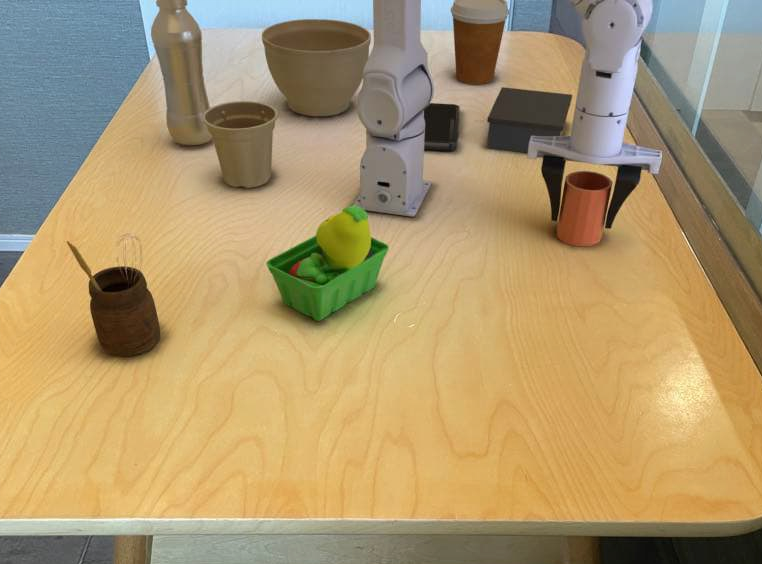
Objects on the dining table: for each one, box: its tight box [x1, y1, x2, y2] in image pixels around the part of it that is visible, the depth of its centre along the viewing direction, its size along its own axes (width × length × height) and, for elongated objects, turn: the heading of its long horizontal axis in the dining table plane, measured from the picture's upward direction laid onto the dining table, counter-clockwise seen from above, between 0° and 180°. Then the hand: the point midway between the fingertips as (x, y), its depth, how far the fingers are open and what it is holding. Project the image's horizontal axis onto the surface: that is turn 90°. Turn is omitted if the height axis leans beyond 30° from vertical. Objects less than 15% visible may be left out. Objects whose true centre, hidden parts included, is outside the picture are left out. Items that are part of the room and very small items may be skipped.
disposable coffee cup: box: [450, 0, 510, 85], centre depth 135 cm, size 10×10×12 cm
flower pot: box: [202, 100, 279, 189], centre depth 105 cm, size 9×9×9 cm
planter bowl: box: [261, 18, 372, 117], centre depth 124 cm, size 16×16×11 cm
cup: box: [556, 170, 613, 247], centre depth 95 cm, size 5×5×7 cm
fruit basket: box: [266, 205, 390, 322], centre depth 83 cm, size 11×9×11 cm
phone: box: [424, 102, 461, 152], centre depth 121 cm, size 8×1×15 cm
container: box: [486, 86, 573, 154], centre depth 119 cm, size 13×11×4 cm
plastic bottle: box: [150, 0, 213, 146], centre depth 110 cm, size 6×7×20 cm
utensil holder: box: [66, 233, 161, 357], centre depth 76 cm, size 6×6×12 cm
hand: (581, 221), depth 97 cm, fingers open, 6 cm apart
